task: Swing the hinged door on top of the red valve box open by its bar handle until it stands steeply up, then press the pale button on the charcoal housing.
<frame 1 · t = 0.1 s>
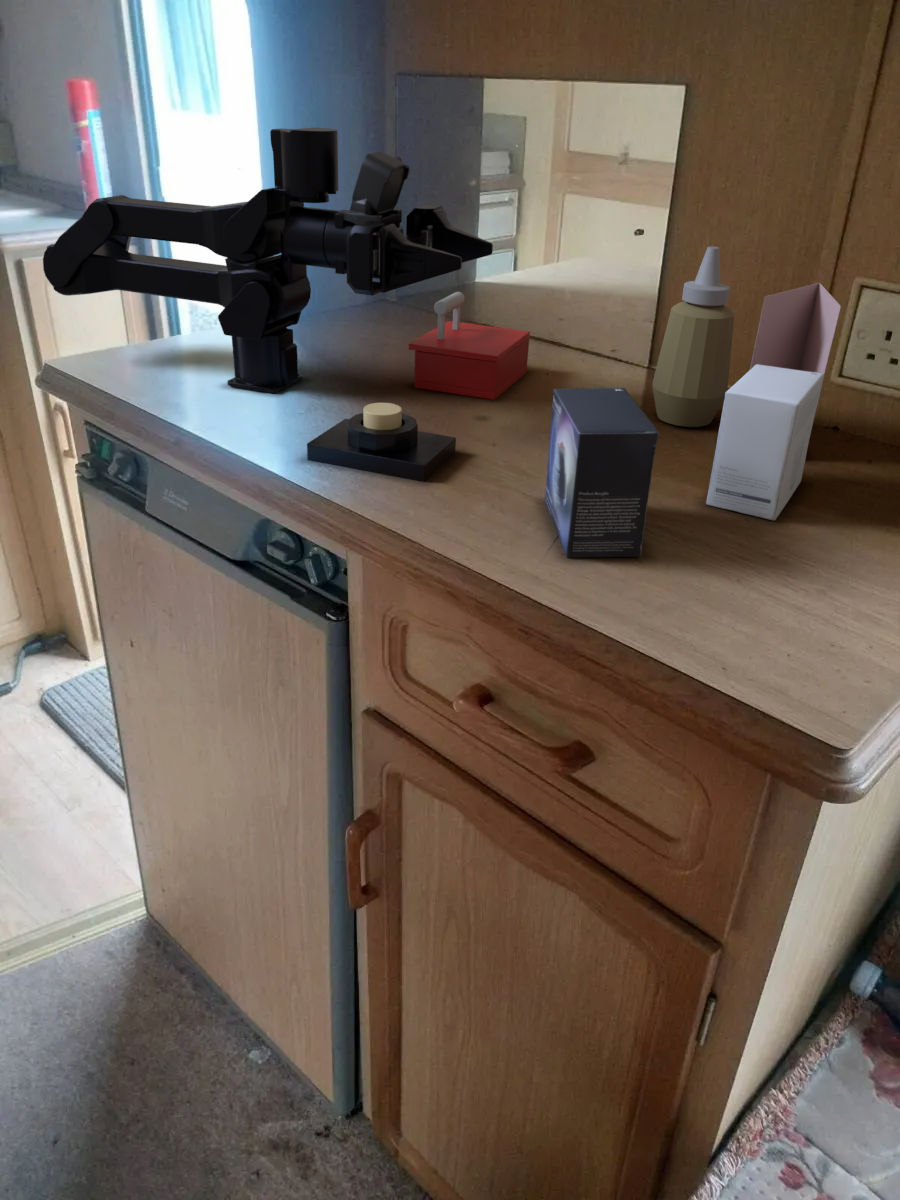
hand: (477, 255, 91), 17 cm above the counter, tool horizontal, fingers open, 9 cm apart
greeting card: (785, 443, 96), on the counter
small box: (587, 531, 76), on the counter
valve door: (472, 321, 107), point 7 cm above the counter, hinge at 0.0°
button: (382, 417, 86), point 4 cm above the counter, slide at 0.1 cm
cosmetics box: (752, 495, 84), on the counter
squeeze bottle: (683, 421, 101), on the counter
button housing: (382, 457, 88), on the counter
valve box: (472, 379, 111), on the counter
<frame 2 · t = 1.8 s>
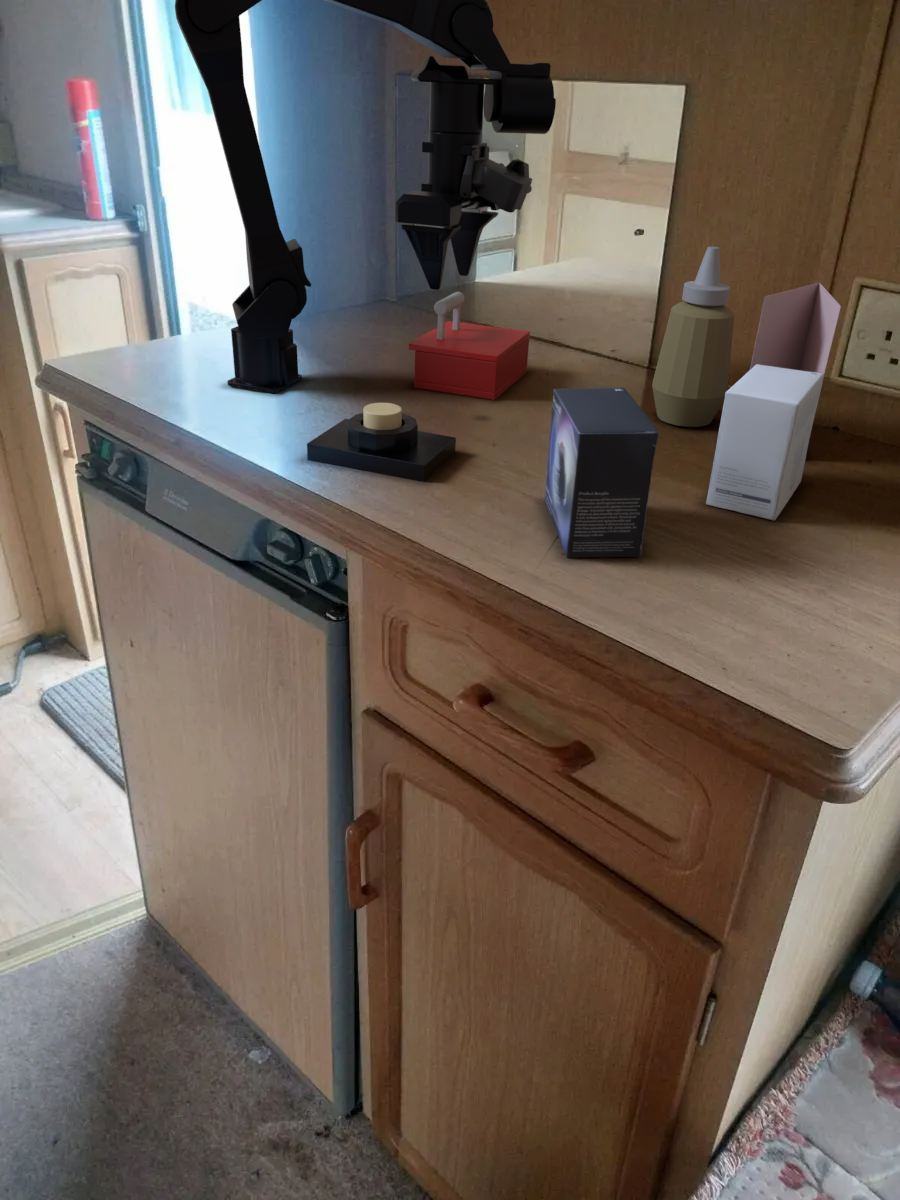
hand: (449, 282, 106), 11 cm above the counter, tool pointing down, fingers open, 9 cm apart
nothing on the counter moved.
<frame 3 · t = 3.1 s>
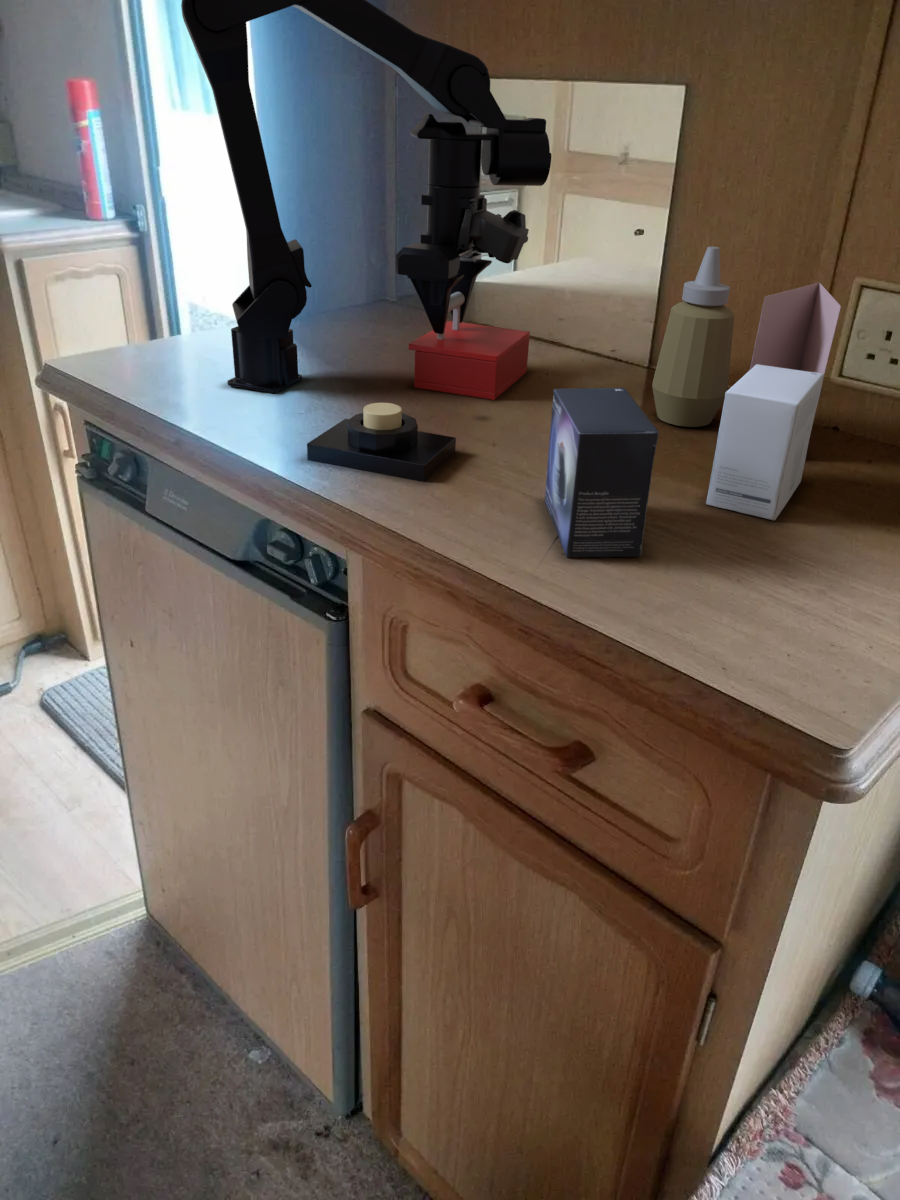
hand: (448, 327, 109), 6 cm above the counter, tool pointing down, fingers closed on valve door, 6 cm apart
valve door: (472, 321, 107), point 7 cm above the counter, hinge at 0.0°, touching gripper
everything else where it was.
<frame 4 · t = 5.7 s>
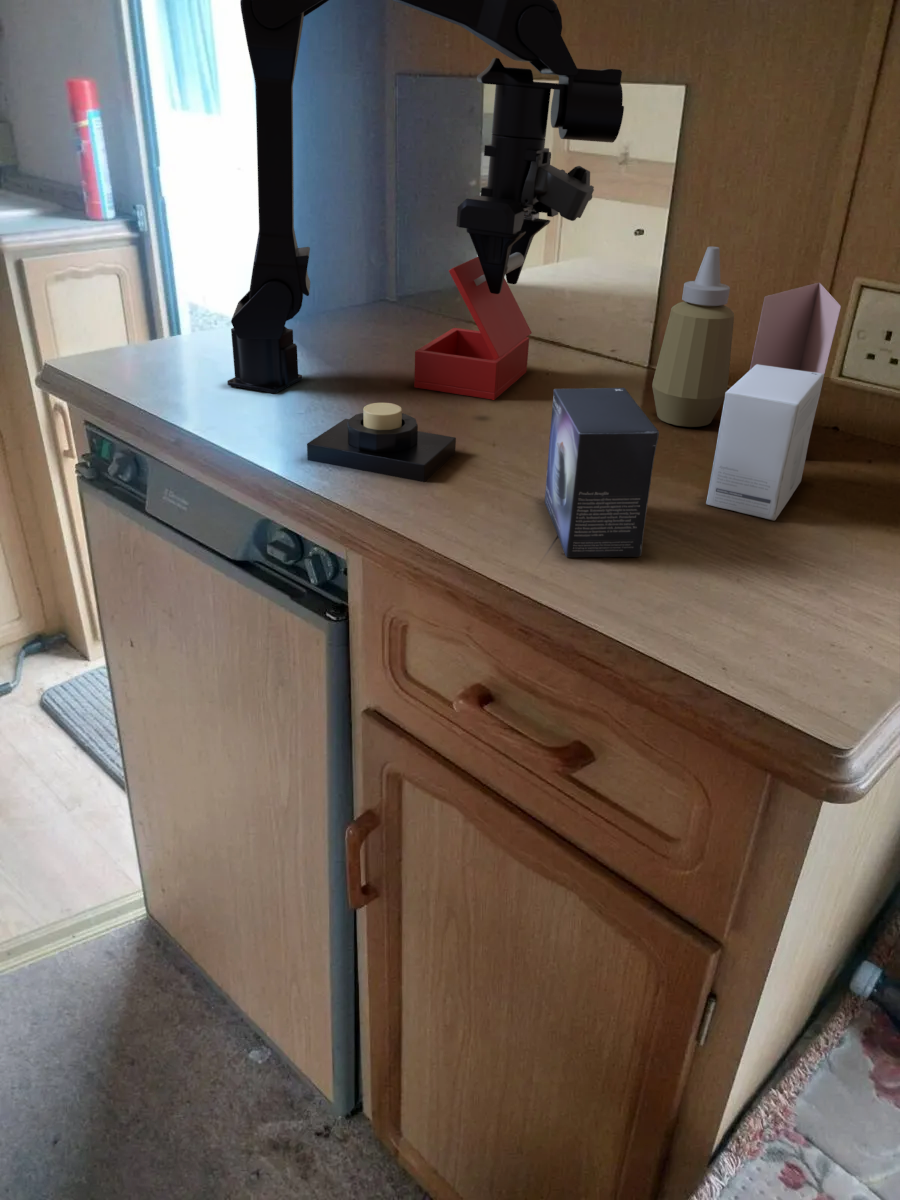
hand: (503, 288, 104), 11 cm above the counter, tool pointing down, fingers closed on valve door, 6 cm apart
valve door: (508, 294, 104), point 10 cm above the counter, hinge at 56.8°, touching gripper
everything else where it was.
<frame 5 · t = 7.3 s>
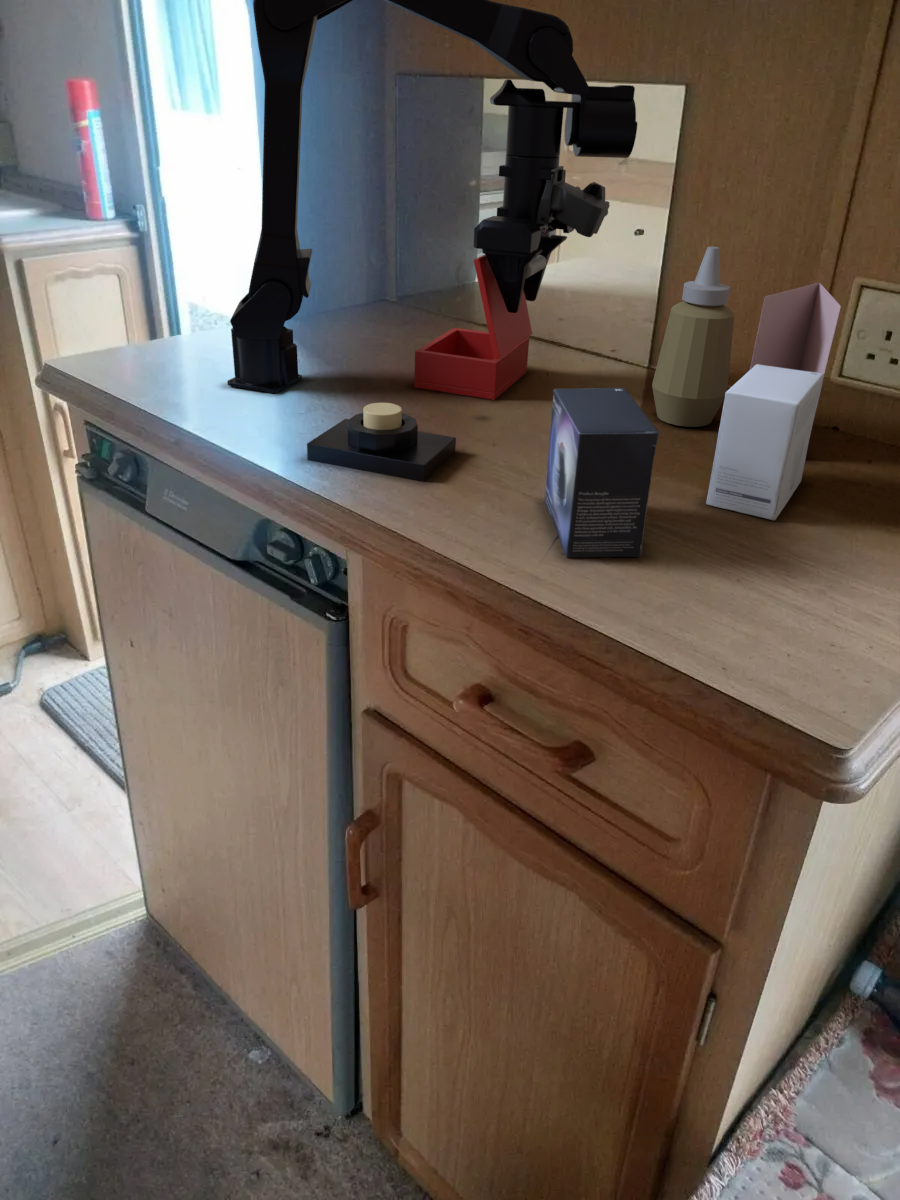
hand: (521, 306, 104), 9 cm above the counter, tool pointing down, fingers open, 6 cm apart
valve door: (522, 295, 104), point 11 cm above the counter, hinge at 73.5°
everything else where it was.
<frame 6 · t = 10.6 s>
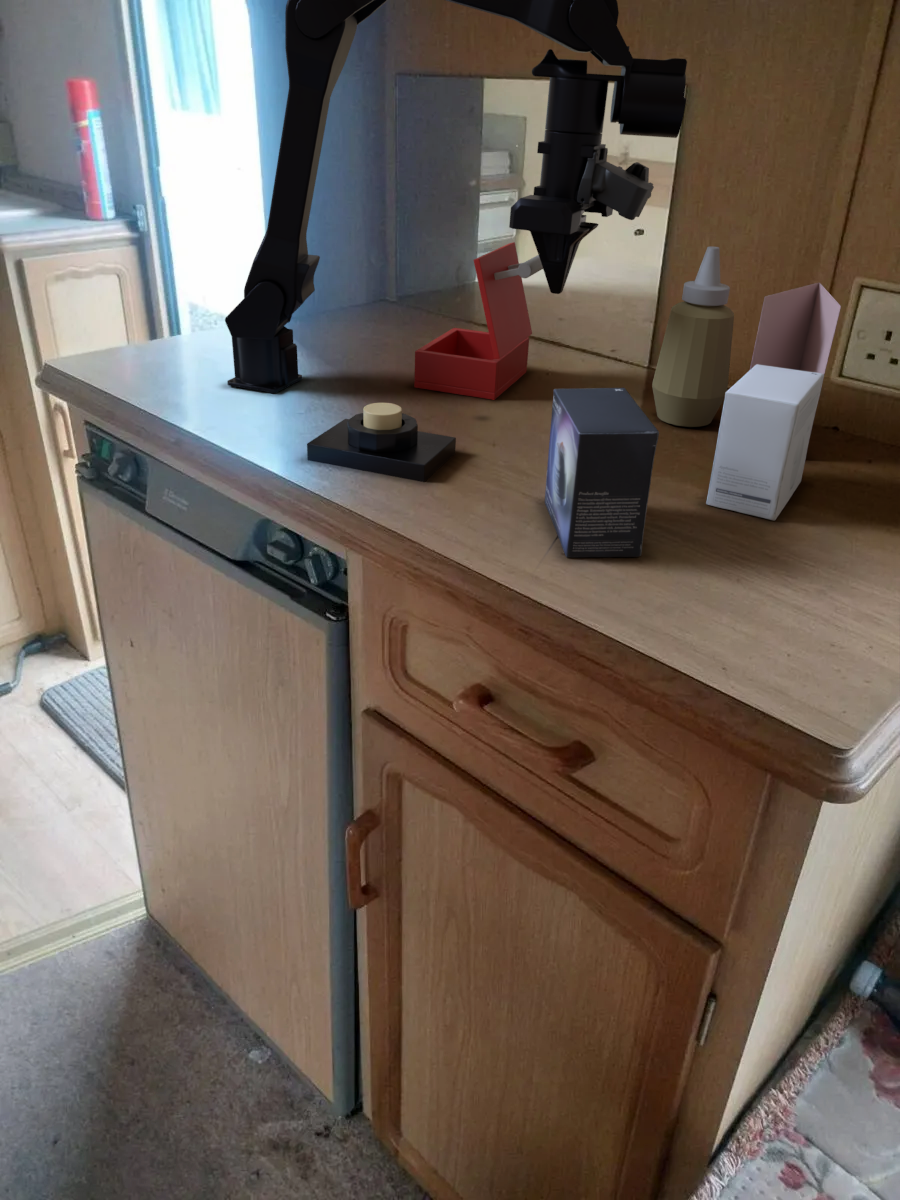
hand: (556, 293, 99), 12 cm above the counter, tool pointing down, fingers closed
nothing on the counter moved.
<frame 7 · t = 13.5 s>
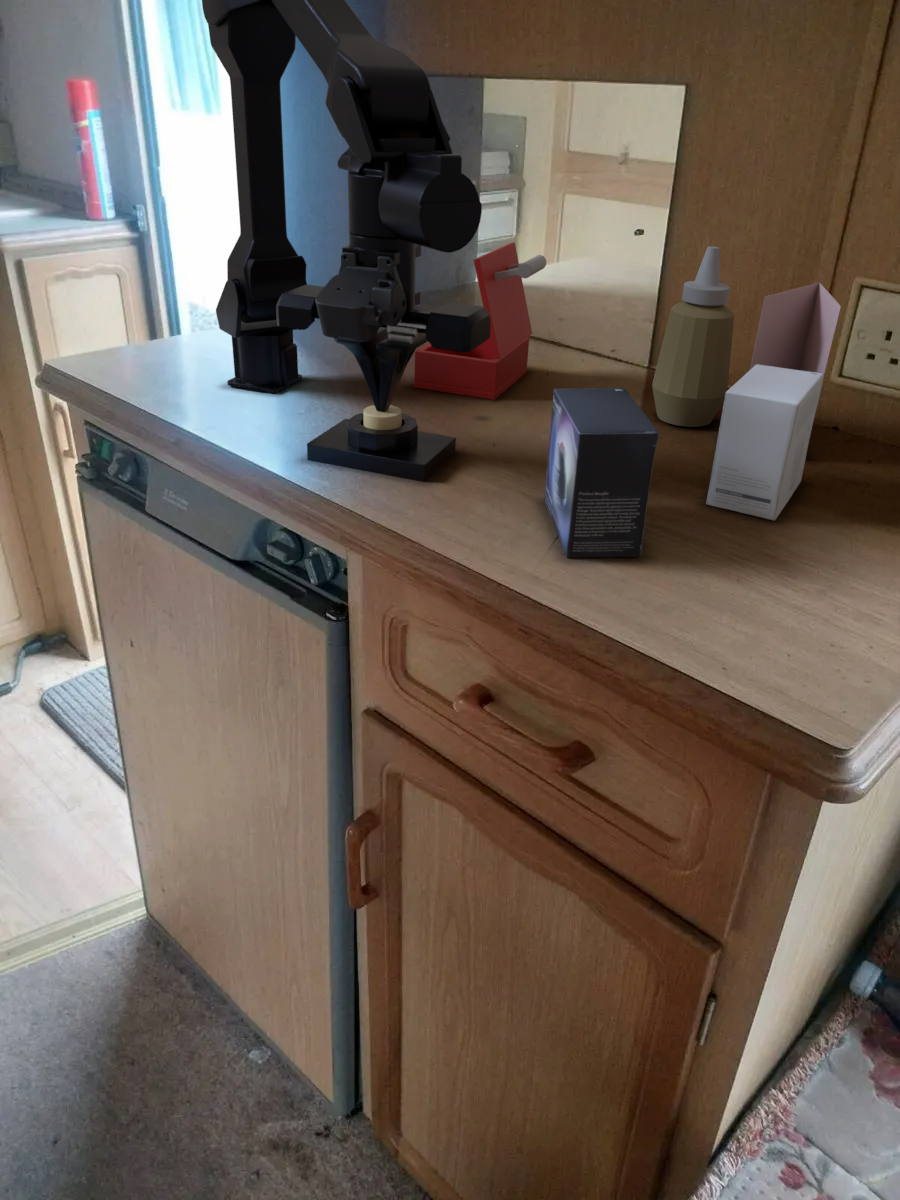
hand: (382, 410, 85), 5 cm above the counter, tool pointing down, fingers closed, pressing on button
button: (382, 419, 86), point 4 cm above the counter, slide at -0.1 cm, touching gripper
everything else where it was.
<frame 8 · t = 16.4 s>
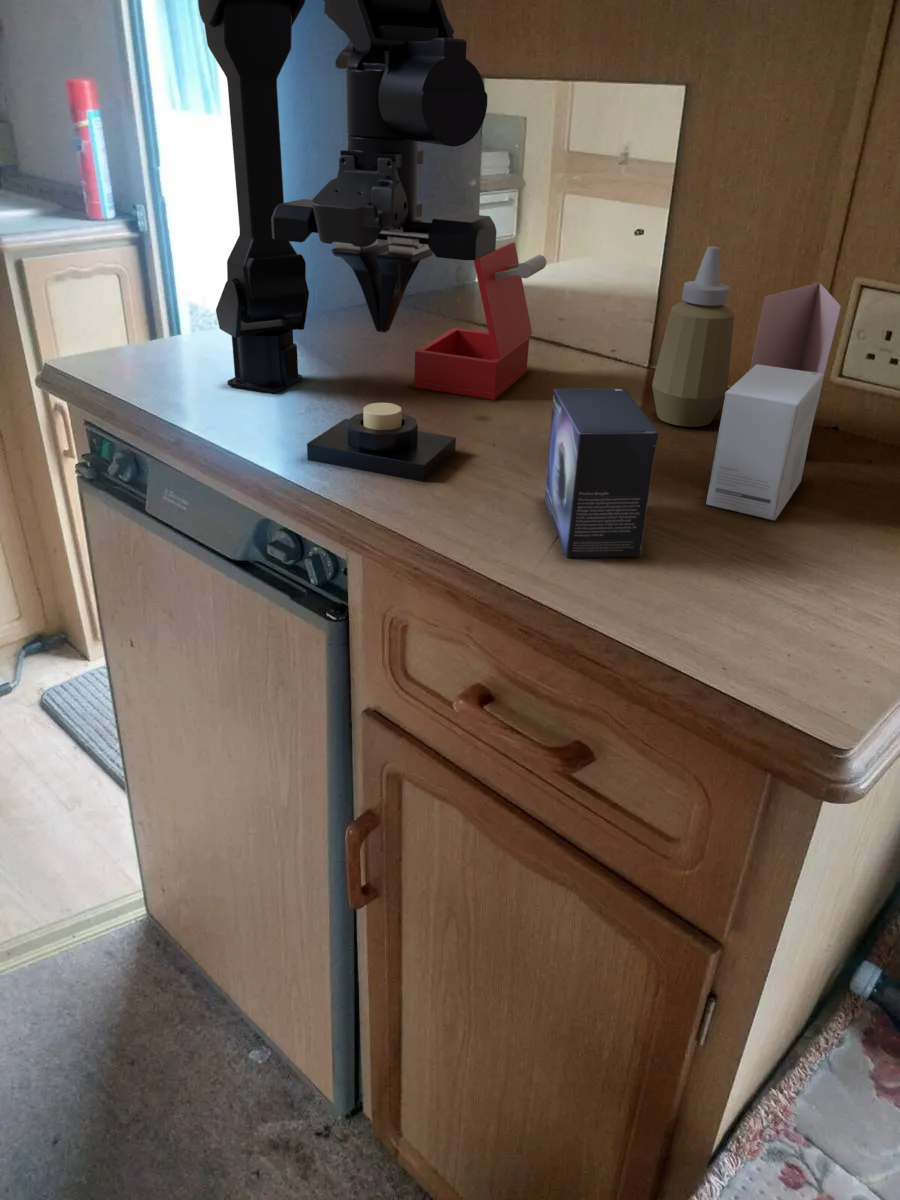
hand: (382, 331, 82), 12 cm above the counter, tool pointing down, fingers closed
button: (382, 417, 86), point 4 cm above the counter, slide at 0.1 cm
everything else where it was.
at the end: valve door at +74° (first picture: +0°); button pushed in 1.1 cm at the most during the clip, back to where it started at the end; button slide at 0.1 cm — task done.
